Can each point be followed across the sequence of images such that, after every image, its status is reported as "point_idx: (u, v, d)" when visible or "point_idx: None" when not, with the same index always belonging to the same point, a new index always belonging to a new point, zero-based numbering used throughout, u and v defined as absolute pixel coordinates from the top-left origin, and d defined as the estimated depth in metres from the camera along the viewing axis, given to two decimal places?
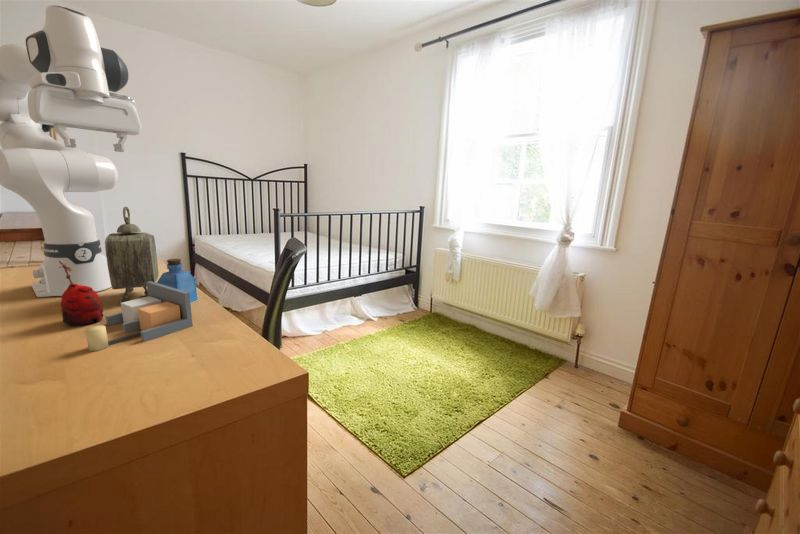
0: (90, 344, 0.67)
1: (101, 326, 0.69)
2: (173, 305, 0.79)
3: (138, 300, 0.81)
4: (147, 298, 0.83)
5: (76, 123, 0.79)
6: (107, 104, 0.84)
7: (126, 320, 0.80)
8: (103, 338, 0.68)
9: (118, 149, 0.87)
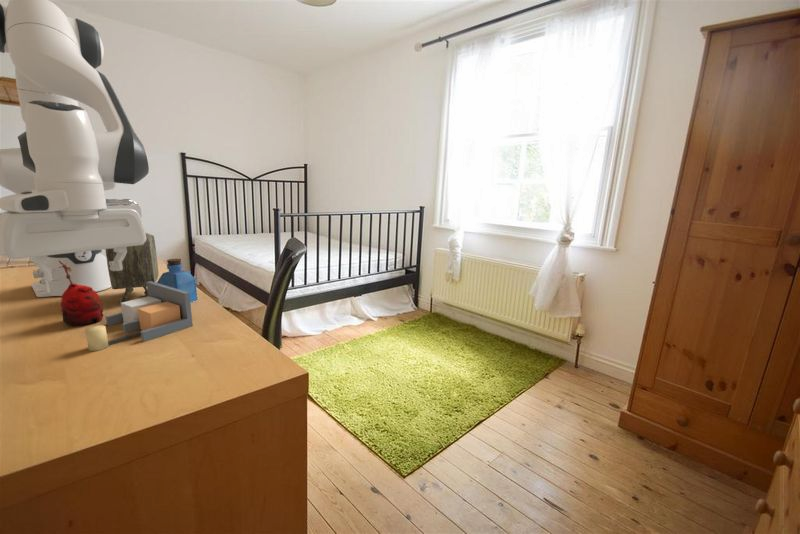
0: (90, 344, 0.67)
1: (101, 326, 0.69)
2: (173, 305, 0.79)
3: (138, 300, 0.81)
4: (147, 298, 0.83)
5: (61, 251, 0.60)
6: (103, 218, 0.65)
7: (126, 320, 0.80)
8: (103, 338, 0.68)
9: (115, 269, 0.68)
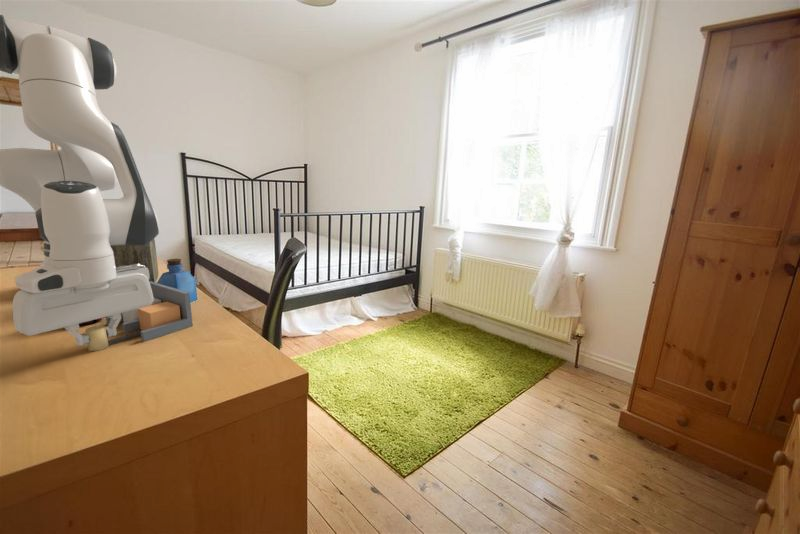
0: (90, 344, 0.67)
1: (101, 326, 0.69)
2: (173, 305, 0.79)
3: None
4: None
5: (74, 322, 0.63)
6: (113, 286, 0.68)
7: (126, 320, 0.80)
8: (103, 338, 0.68)
9: (109, 336, 0.69)
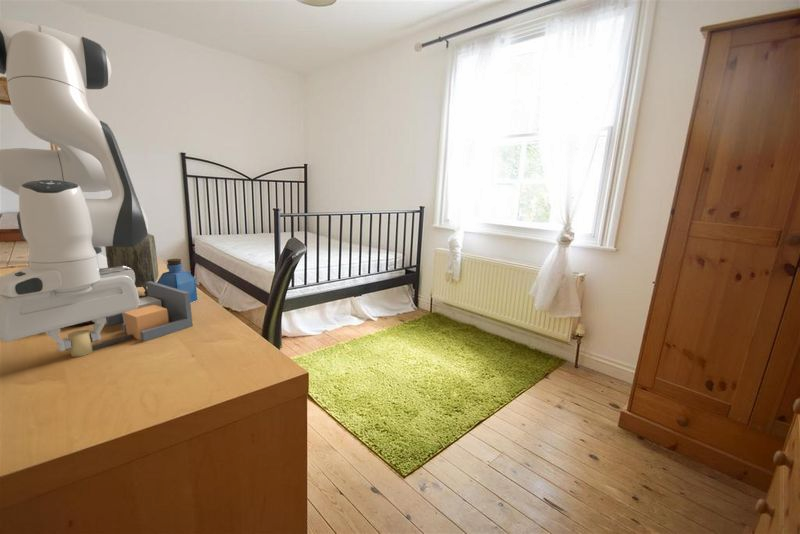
0: (73, 349, 0.65)
1: (84, 331, 0.66)
2: (161, 308, 0.76)
3: None
4: (147, 298, 0.83)
5: (55, 327, 0.61)
6: (97, 289, 0.66)
7: None
8: (87, 343, 0.66)
9: (93, 340, 0.67)
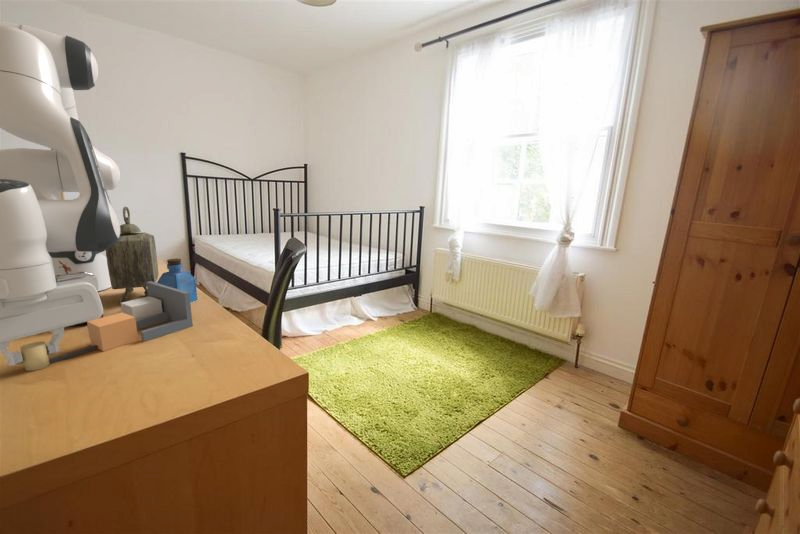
0: (26, 363, 0.59)
1: (40, 342, 0.61)
2: (128, 317, 0.71)
3: (138, 300, 0.81)
4: (147, 298, 0.83)
5: (3, 340, 0.56)
6: (52, 297, 0.60)
7: None
8: (42, 356, 0.60)
9: (50, 353, 0.62)
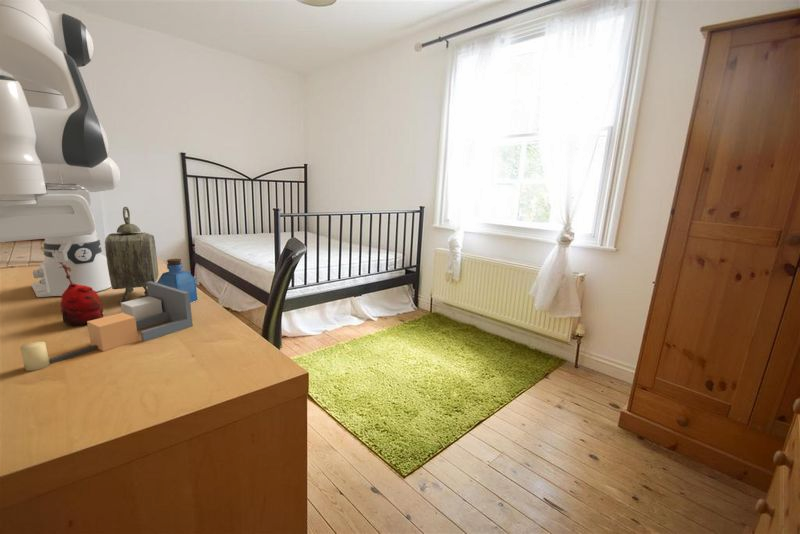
0: (26, 363, 0.59)
1: (40, 342, 0.61)
2: (128, 317, 0.71)
3: (138, 300, 0.81)
4: (147, 298, 0.83)
5: None
6: (42, 204, 0.59)
7: None
8: (42, 356, 0.60)
9: (58, 261, 0.62)
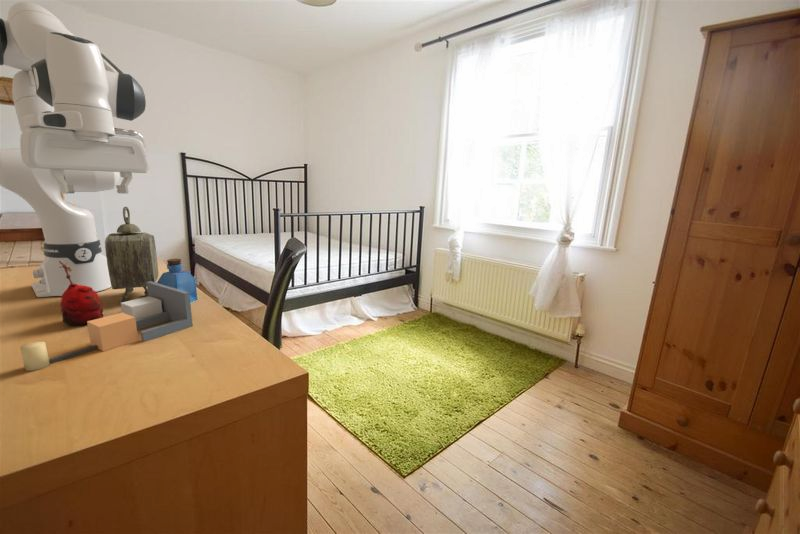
0: (26, 363, 0.59)
1: (40, 342, 0.61)
2: (128, 317, 0.71)
3: (138, 300, 0.81)
4: (147, 298, 0.83)
5: (75, 167, 0.70)
6: (112, 143, 0.74)
7: None
8: (42, 356, 0.60)
9: (121, 191, 0.78)
